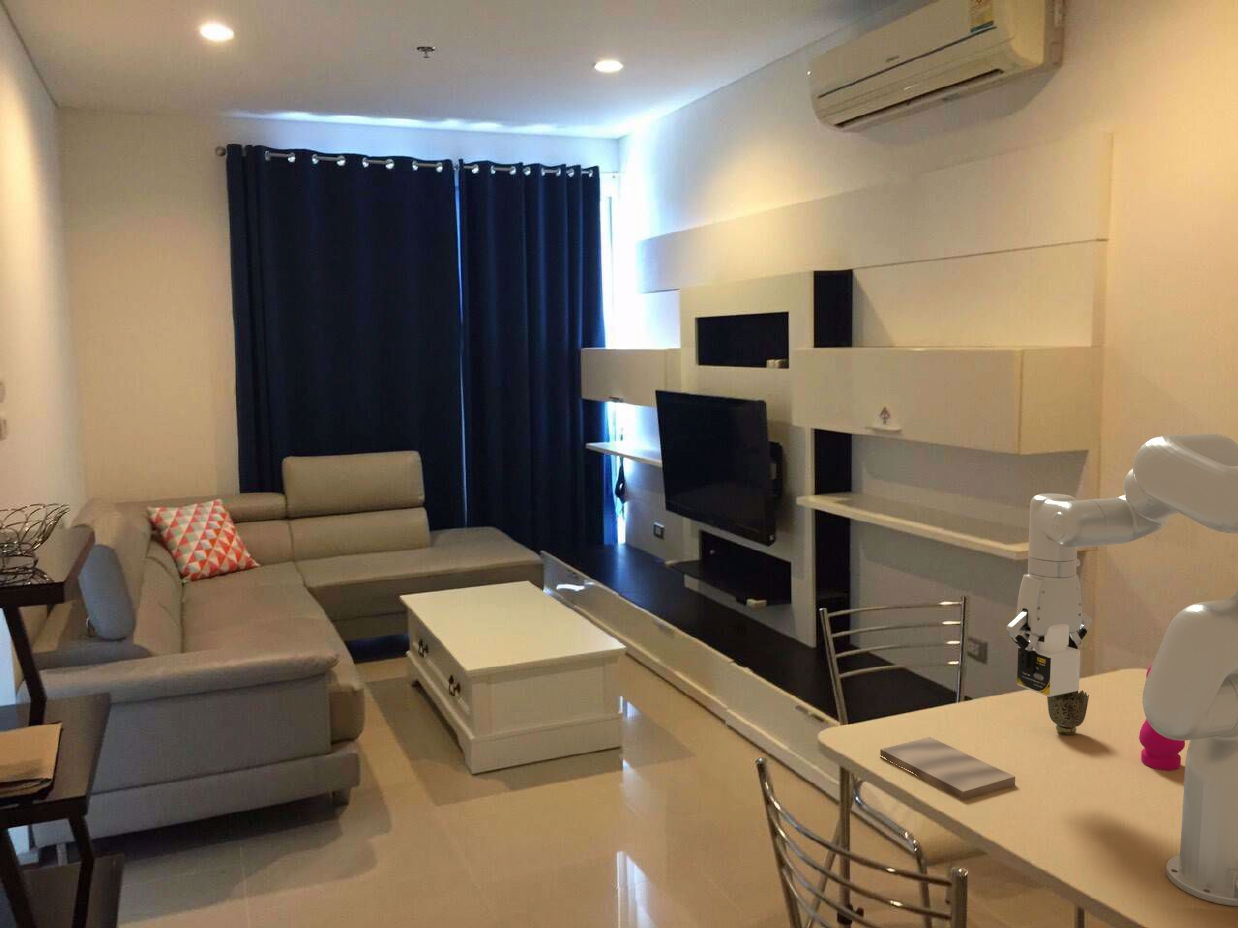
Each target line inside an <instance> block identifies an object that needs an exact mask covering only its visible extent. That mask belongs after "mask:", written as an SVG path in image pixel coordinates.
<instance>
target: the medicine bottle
mask: <svg viewBox="0 0 1238 928" xmlns="http://www.w3.org/2000/svg"><path fill="white" fill-rule="evenodd" d="M1030 637H1031V636H1029V638H1030ZM1068 644H1069V626H1068V625H1067V624H1056V625H1053V626H1051V627H1049V628H1048V631H1047V635H1045V636H1041V637H1039V639H1038V641H1037V642H1036V644H1035V646H1034V648H1033V650H1034V651H1036V671H1035V674H1029V673H1027V672H1025V671H1023V670H1021V669H1020V647H1018V646H1017V667H1016V668H1017V672H1016V674H1017V675H1016V684H1017V685H1018V686H1019V687H1022V688H1024V689H1027V690H1030V691H1032V692H1035V693H1037V694H1040V695H1043V696H1046V697H1047V696H1048V697H1051V696H1056V695H1060V694H1065V693H1070V692H1075V691H1078V692H1079V690H1080V674H1081V669H1080V668H1081V650H1080V649H1079V648H1078V649H1074V648H1071V647H1068ZM1017 685H1016V686H1017Z"/></svg>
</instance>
